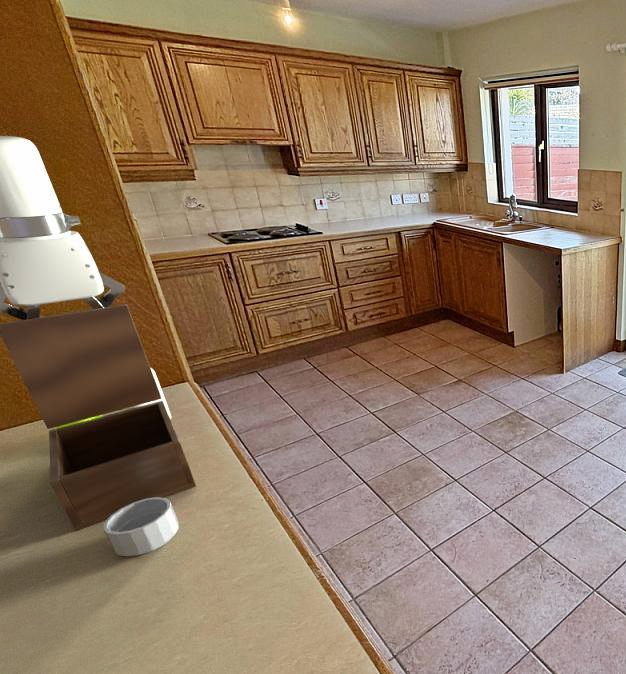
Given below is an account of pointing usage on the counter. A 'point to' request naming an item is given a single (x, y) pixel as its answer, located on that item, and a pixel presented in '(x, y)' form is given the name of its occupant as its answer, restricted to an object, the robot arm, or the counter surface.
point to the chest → (116, 463)
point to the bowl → (141, 526)
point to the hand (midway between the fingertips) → (78, 338)
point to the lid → (81, 363)
